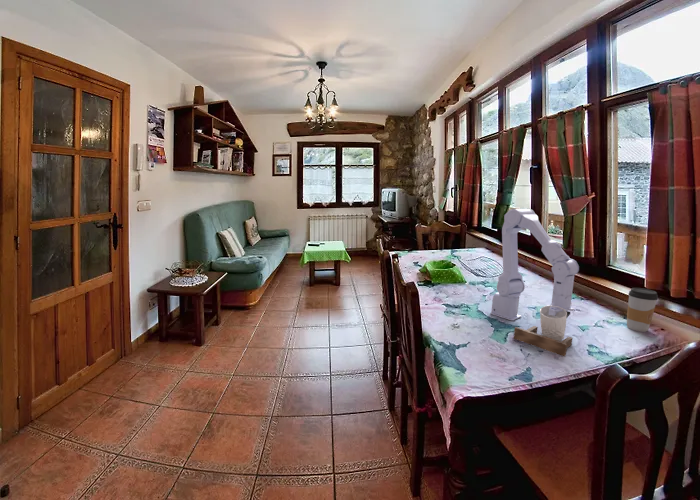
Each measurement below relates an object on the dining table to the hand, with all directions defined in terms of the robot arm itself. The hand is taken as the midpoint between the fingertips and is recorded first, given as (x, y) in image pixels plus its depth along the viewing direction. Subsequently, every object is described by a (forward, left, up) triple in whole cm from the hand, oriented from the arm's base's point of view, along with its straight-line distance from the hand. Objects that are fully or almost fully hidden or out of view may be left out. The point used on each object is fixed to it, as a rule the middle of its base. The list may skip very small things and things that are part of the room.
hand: (557, 330), depth 120 cm
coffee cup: (+16, +32, -2) cm, 36 cm away
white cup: (0, -3, -1) cm, 4 cm away
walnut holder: (0, -9, -2) cm, 9 cm away
